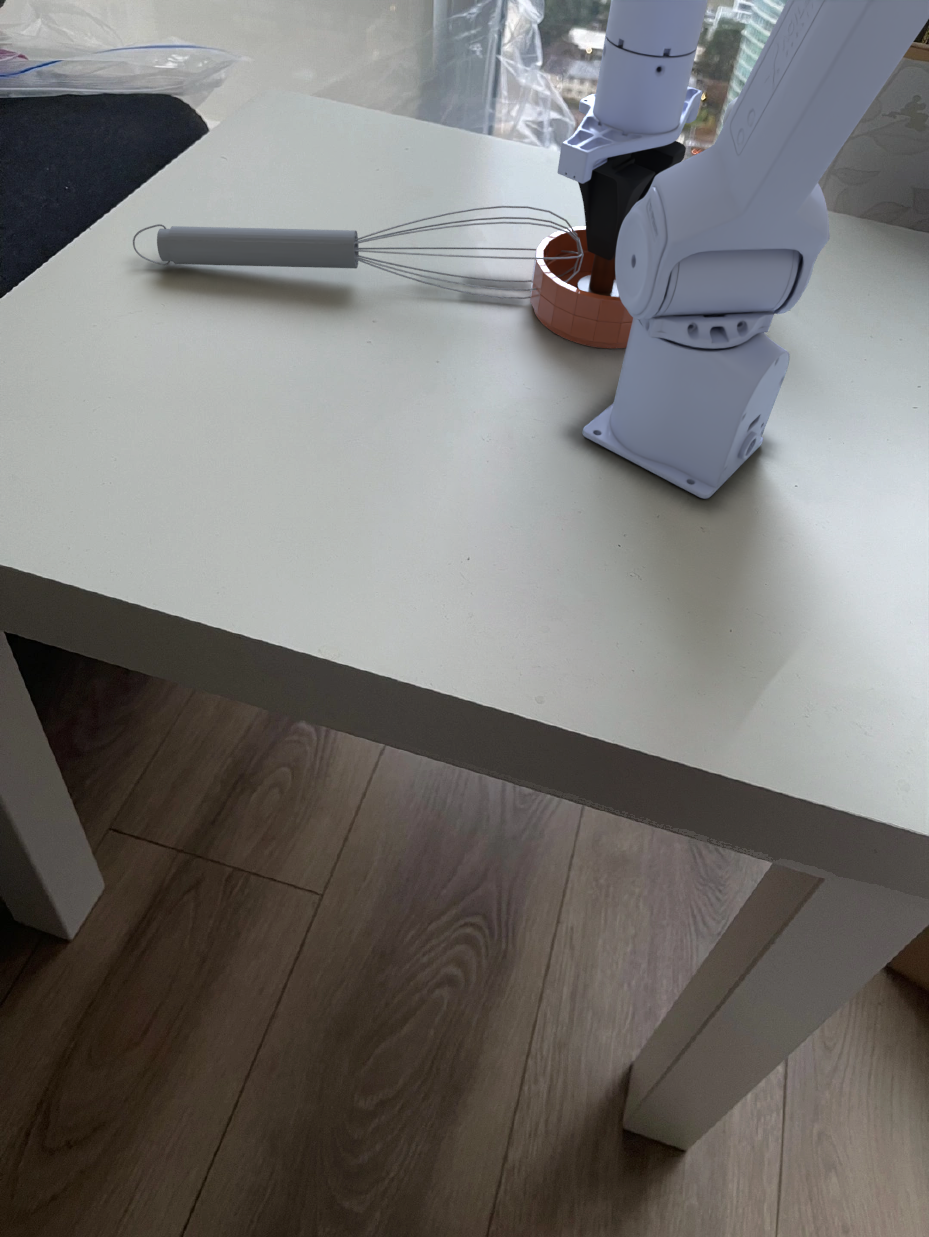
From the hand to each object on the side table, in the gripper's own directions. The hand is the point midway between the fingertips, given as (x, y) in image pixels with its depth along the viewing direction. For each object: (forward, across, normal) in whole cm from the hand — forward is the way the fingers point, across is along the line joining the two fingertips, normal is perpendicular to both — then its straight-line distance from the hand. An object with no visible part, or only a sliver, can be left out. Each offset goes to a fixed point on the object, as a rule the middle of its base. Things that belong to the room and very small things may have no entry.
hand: (610, 248), depth 69 cm
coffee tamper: (+4, 0, 0) cm, 4 cm away
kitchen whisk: (+5, +10, -15) cm, 19 cm away
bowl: (+5, 0, 0) cm, 5 cm away
